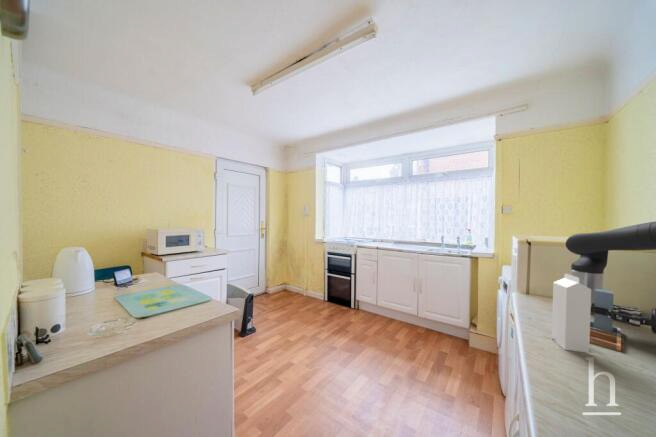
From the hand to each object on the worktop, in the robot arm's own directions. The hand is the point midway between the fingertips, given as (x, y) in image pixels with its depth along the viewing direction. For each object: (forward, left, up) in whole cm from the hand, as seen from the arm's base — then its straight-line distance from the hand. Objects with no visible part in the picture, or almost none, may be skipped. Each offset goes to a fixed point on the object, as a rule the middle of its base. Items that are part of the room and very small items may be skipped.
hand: (591, 307), depth 82 cm
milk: (+19, -3, -9) cm, 21 cm away
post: (0, +3, -7) cm, 8 cm away
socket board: (+5, +3, -8) cm, 10 cm away
